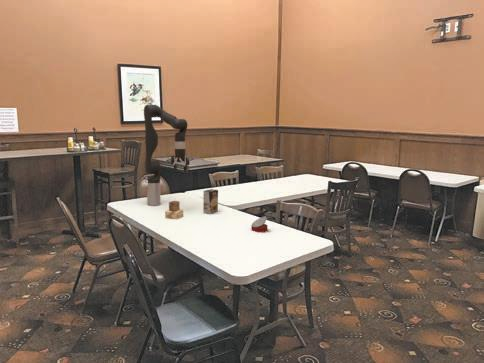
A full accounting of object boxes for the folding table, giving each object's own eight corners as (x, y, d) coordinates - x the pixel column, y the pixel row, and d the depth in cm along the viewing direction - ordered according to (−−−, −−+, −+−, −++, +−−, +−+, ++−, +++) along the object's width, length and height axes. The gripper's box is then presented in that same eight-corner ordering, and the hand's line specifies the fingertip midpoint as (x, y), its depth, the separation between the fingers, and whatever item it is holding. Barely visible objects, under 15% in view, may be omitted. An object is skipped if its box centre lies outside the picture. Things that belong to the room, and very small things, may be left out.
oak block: (165, 218, 274) (165, 211, 273) (171, 215, 282) (171, 208, 282) (177, 219, 271) (177, 212, 270) (183, 216, 280) (183, 209, 279)
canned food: (264, 239, 247) (264, 227, 240) (249, 235, 250) (248, 224, 244) (270, 226, 255) (270, 215, 249) (255, 223, 258) (254, 211, 252)
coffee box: (210, 214, 285) (210, 191, 283) (203, 213, 289) (203, 190, 286) (218, 211, 293) (218, 189, 290) (211, 210, 296) (211, 188, 294)
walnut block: (169, 210, 275) (168, 202, 274) (173, 209, 280) (173, 200, 278) (174, 211, 273) (174, 202, 272) (179, 210, 277) (179, 201, 276)
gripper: (168, 147, 285) (168, 170, 288) (185, 149, 278) (185, 172, 281) (175, 146, 291) (175, 169, 294) (191, 148, 285) (191, 171, 288)
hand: (180, 170), depth 288 cm, fingers open, 8 cm apart
